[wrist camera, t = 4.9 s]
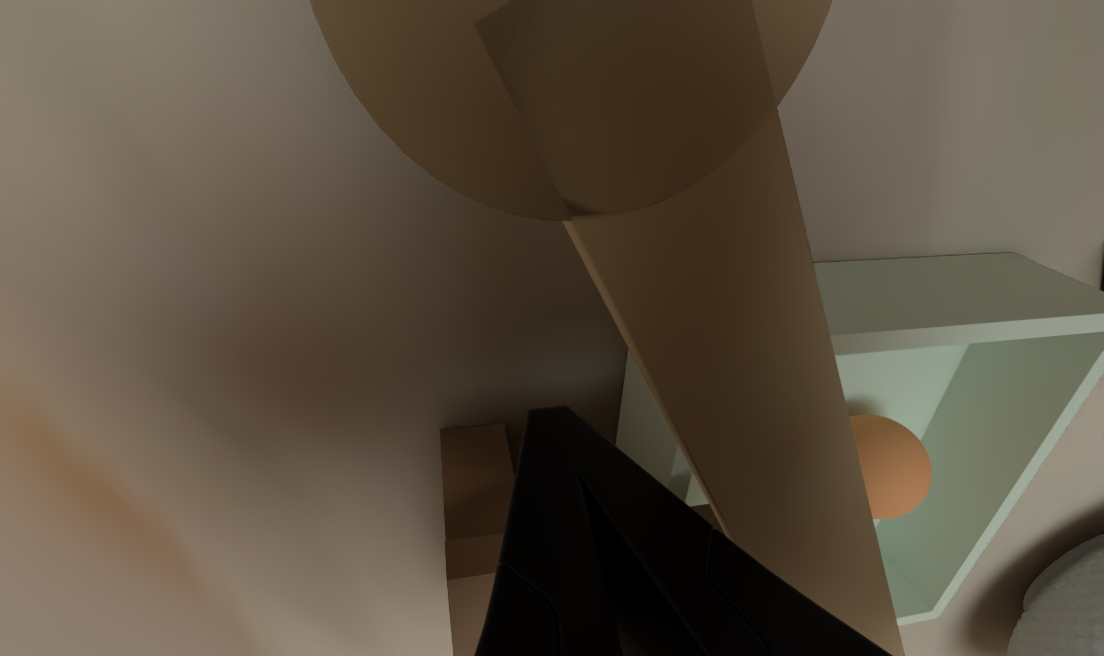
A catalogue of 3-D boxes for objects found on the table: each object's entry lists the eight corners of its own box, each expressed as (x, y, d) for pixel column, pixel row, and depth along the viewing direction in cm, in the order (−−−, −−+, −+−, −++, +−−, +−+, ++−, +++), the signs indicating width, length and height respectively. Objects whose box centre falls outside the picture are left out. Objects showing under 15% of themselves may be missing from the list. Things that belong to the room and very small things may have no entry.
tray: (1013, 252, 18) (1146, 310, 15) (870, 536, 26) (938, 617, 22) (638, 272, 16) (698, 346, 12) (597, 581, 23) (627, 681, 20)
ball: (921, 401, 20) (980, 490, 17) (860, 456, 22) (904, 542, 19) (835, 387, 19) (883, 477, 16) (781, 445, 21) (816, 532, 19)
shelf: (724, 377, 19) (838, 519, 14) (685, 535, 23) (762, 689, 18) (438, 404, 17) (446, 580, 12) (451, 571, 21) (462, 755, 16)
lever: (629, -407, 5) (795, -719, 3) (886, 612, 16) (958, 707, 14) (242, -153, 5) (118, -258, 3) (758, 672, 16) (809, 776, 14)
